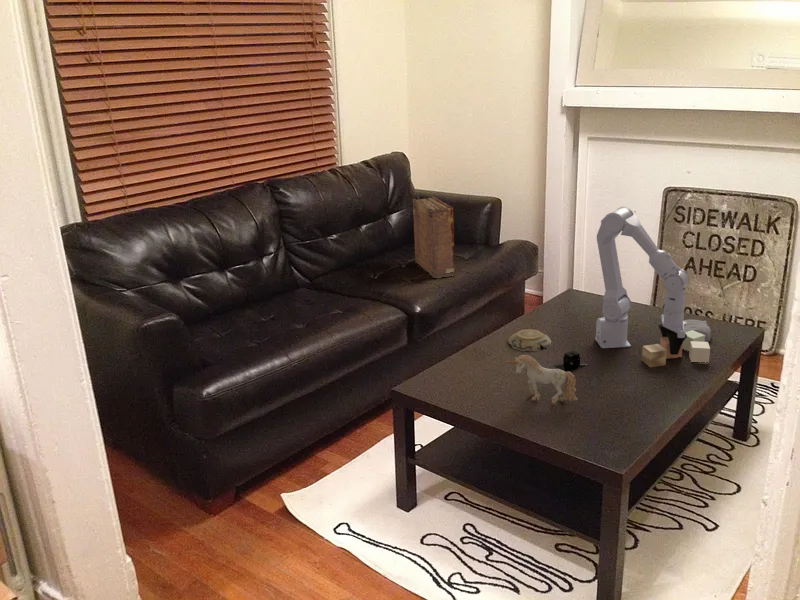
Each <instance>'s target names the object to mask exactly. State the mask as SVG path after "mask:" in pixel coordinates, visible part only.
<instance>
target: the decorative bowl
mask: <svg viewBox="0 0 800 600" xmlns="http://www.w3.org/2000/svg"><path fill="white" fill-rule="evenodd" d="M508 342H509V344H510V345H511V346H513V347H516V348H518V349H521V350H522V349H523V350H530V351H531V350H532V351H535V350H540V349H541V347H543V348H544V349H545V348H546V347H549V345H551V342H552V340H551V338H550V337H549V336H548V335H547V334H545V333H543V332H541V331H539V330H538V329H534V328H533V329H532V328H529V329H528V328H527V329H521V330H519V331H517V332H515V333H513V334H512V335H510V337H509V338H508V339H507V343H508ZM509 344H508V345H509ZM551 346H552V345H551ZM549 348H550V347H549ZM541 350H542V349H541ZM535 352H536V351H535Z"/></svg>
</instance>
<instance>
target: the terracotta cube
mask: <svg viewBox="0 0 800 600" xmlns="http://www.w3.org/2000/svg"><path fill="white" fill-rule="evenodd" d="M659 340H660V343H659V345H660V346H662V347H663V348H664V349H666V350H667V351H666V359H678V357H682V354H683V349H682V347H683V343H682V345H681V347H680V350H679V353H678V354H677V355H671V354H670V344H669V339H668V337H662V336H660V339H659Z"/></svg>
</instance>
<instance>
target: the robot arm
mask: <svg viewBox="0 0 800 600" xmlns="http://www.w3.org/2000/svg"><path fill="white" fill-rule="evenodd" d="M639 219H640V218H639V217H638V216H637V215H636V214H634V211H633V210H632V209H631V208H629V207H627V206H620V207H618V208H617V209H616V210H614V211H612V212H609V213H608V214H606V215H605V216H604V217H603V218H602V219H601V220H600V226H599V229H598V231H597V234H596V242H597V249H598V254H599V255H598V256H599V258H600V259H599V260H600V265H601V270H602V277H603V283H604V289H605V291H604V295H603V298H602V302H603V306H602V309H601V311H602V315H603V316H602V317H599V318H596V322H595V326H596V327H595V328H596V329H595V338H594V339H595V341H596V342H597V344H598V345H599V346H600V348H601V349H610V348H611V349H612V348H613V349H614V348H616V349H617V348H630V347H631V346H632V344H630V342H629V341H628V324H629V315H628V311H630V310H631V308H632V300H631V298H630V297H629V295H628V292H627V289H626V288H625V287H624V286H623V281H622V275H621V274H622V273H621V267H620V263H619V257H618V250H617V245H616V238H617V237H618V236H624V237H630V238H632V239H633V240H634V241H635V242H636V243H637V245H639V247H640V248H641V249H642V251H644V252H645V253H646V254H647V256H648V263H649V265H650V266H651V267H652V269H654V271H655V272H656V273H657V275H658V276H659V278H661V280H663V281H662V282H663V288H664V289H665V296H664V305H663V306H664V309H663V314H661V315H660V316H661V317H660V321H661V323H659V324H658V325H657V326H658V329H659V330H660V334H661V337H668V339H669V344H670V354H671V355H677V354H678V353H679V350H680V347H681V345H682V343H683V341H684V340H685V339H686V338H687V335H686V334H685V331H684V326H686V325H687V323H686V322H685V321H684V317H685V304H686V293H687V292H686V291H687V288H686V287H687V285H688V284H689V282H690V277H689V274H688V272H687V271H686V270H685V269H683V268H681V267H680V266H678V265H677V264H676V263H675V262H674V260H673V258H671V257H672V254H671V253H670V252H668V253H667V251H666V250H662V249H659V248H658V246H657V245H656V244H655V242H654V241H653V239H652V238H651V237H650V235H649V234H648V232H647V231H646V230H645V228H644V227H643V225H642V224H641V222H640V220H639Z"/></svg>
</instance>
